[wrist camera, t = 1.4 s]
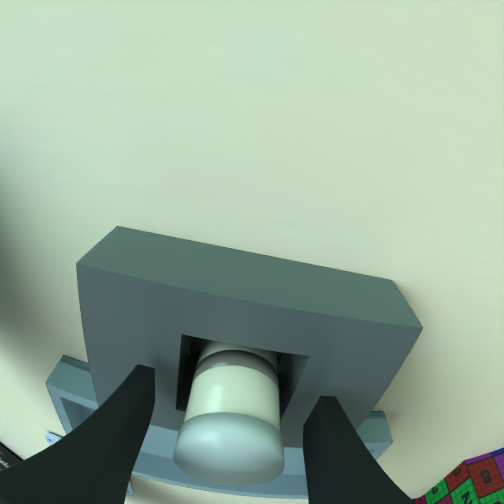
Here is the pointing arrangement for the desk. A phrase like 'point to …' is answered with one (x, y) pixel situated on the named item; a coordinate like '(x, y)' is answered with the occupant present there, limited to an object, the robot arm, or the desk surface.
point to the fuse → (232, 417)
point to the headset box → (7, 458)
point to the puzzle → (471, 482)
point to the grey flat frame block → (239, 323)
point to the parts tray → (164, 440)
